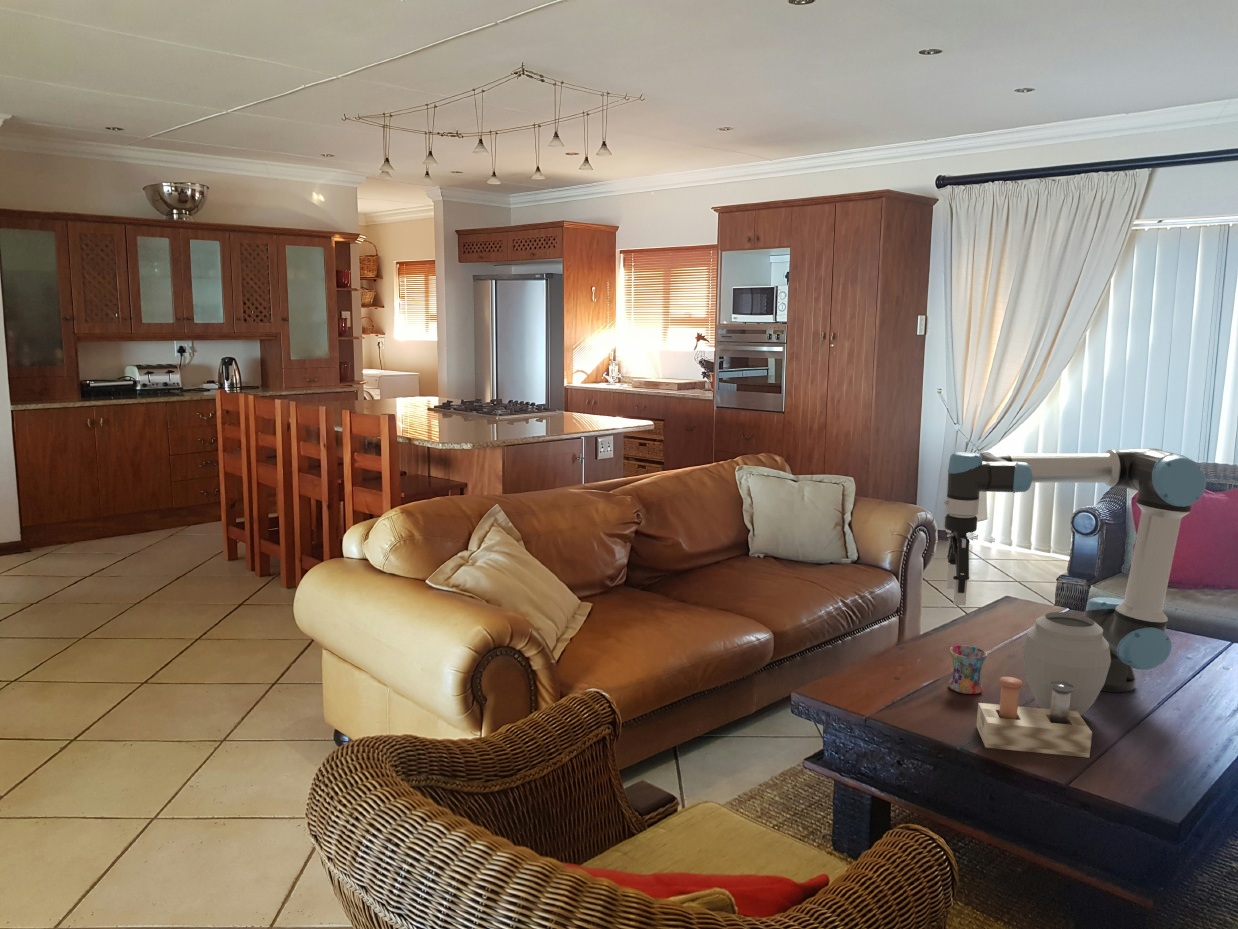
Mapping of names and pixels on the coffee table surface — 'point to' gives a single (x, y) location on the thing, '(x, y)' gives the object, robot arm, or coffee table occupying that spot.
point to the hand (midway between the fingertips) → (955, 596)
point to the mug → (967, 669)
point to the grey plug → (1060, 701)
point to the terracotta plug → (1009, 697)
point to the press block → (1033, 731)
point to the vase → (1066, 658)
